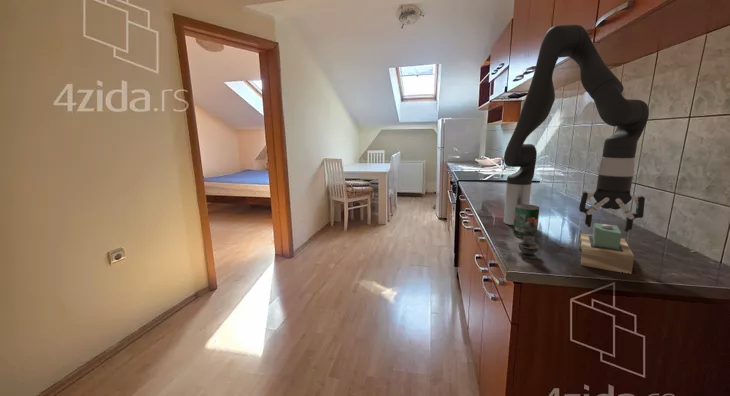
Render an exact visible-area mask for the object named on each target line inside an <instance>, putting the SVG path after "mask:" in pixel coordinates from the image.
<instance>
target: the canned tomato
mask: <svg viewBox="0 0 730 396" xmlns="http://www.w3.org/2000/svg"><path fill="white" fill-rule="evenodd" d="M539 214H540V206H538V205H533V204H530V205H527V204H518V205H516V206H515V218H514V225H513V230H512V234H513V235H514V236H515V237H519V238H523V239H524V233H523V232H524V231H525V223H526V222H528V221H530V219H532V221H533V222H534V223H535V224H536V228H535V233H536V235H535V238H537V235H538V226H539V225H538V224H539V217H540V216H539Z"/></svg>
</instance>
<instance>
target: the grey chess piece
mask: <svg viewBox="0 0 730 396" xmlns="http://www.w3.org/2000/svg"><path fill="white" fill-rule="evenodd" d="M535 228H536V224H535V223H534V222H533V221H532V219H530V221H528V222H526V223H525V231H524V232H523V233H524V238H523V239H522V241H520V242H519V241H518V242H517V245H518V249H519V251H520V252H518V253H517V255H518V257H520V258H523V259H527V260H535V259H537V258H538V256H537V254H536V253H537V251H538V250H539V248H540V245H539V244H537V243H536V240H535V239H536V237H535V235H536V233H535Z"/></svg>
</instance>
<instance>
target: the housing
mask: <svg viewBox="0 0 730 396" xmlns="http://www.w3.org/2000/svg"><path fill="white" fill-rule="evenodd" d="M592 227H593V228H592V234H591V235H592V239H593V242H594V246H600V247H607V248H614V249H619V247H620V241H621V239H622V232H621V230H620V228H619V226H618V225H615V224H606V223H597V222H595V223H594V222H593V226H592Z"/></svg>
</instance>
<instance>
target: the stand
mask: <svg viewBox="0 0 730 396" xmlns="http://www.w3.org/2000/svg"><path fill="white" fill-rule="evenodd" d="M578 250H581V258H580V266H584V267H590V268H595V269H601V270H606V271H610V272H611V271H612V272H618V273H622V272H623V274H628V273H629V274H630V275H632V273H633V266H634V262H635V261H634V260H635V255H634V253H633V252H632V250H631V248H630V246H629V245H628V243H627V241H626V239H625V238H621V241H620V247H619V249H614V248H607V247H600V246H594V242H593V239H592V234H590V233H589V234H587V233H580V235H579V244H578ZM629 274H628V275H629Z"/></svg>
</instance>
